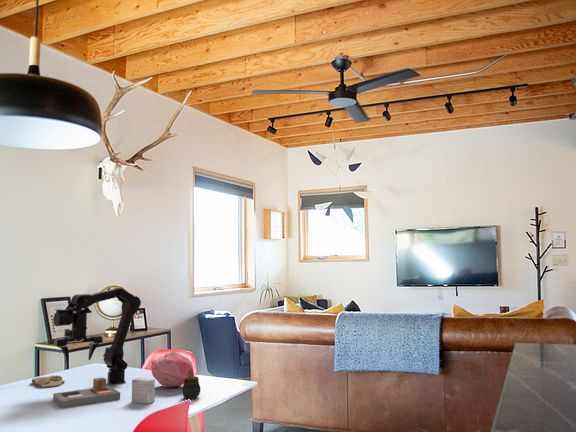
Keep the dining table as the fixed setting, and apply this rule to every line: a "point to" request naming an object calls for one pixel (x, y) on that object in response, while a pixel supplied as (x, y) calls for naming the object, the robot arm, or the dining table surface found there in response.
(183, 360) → the decorative rock
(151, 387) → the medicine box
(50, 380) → the fossil
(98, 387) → the plug
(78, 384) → the dining table surface
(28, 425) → the dining table surface
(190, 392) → the mate gourd
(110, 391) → the socket plate
